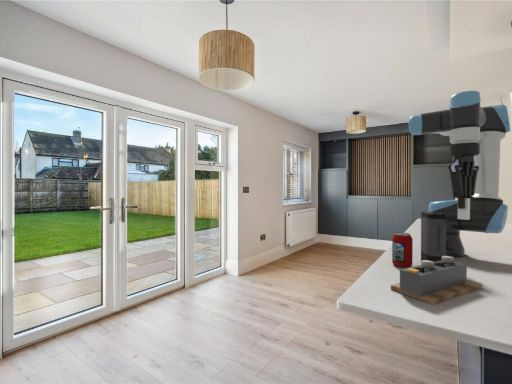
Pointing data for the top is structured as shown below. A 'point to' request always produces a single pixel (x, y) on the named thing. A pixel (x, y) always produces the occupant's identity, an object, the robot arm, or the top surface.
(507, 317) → the top surface
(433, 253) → the electronic device
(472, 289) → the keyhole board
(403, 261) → the beverage can
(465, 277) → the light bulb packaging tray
